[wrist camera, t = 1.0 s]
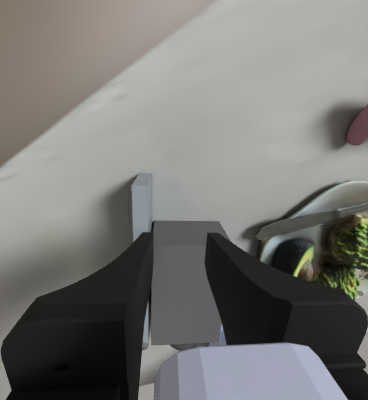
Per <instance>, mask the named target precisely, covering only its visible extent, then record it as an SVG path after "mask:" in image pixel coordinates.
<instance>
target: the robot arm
mask: <svg viewBox="0 0 368 400" xmlns="http://www.w3.org/2000/svg"><path fill="white" fill-rule="evenodd" d="M153 254H154V232H142V233H141V234H140V235H139V237H138V238H137V239H136V240H135V241H134V242H133V243H132V244H131V245H130V246H129V247H128V248H127V249H126V250H125V251H124V252H123V253H122V254H121V255H120V256H119V257H117V258H116V259H115V260H114V261H112V262H111V263H109V264H108V265H107V266H105V267H104V268H102V269H100V270H99V271H97V272H95V273H93V274H92V275H90V276H88V277H86V278H84V279H82V280H80V281H78V282H76V283H74V284H71V285H69V286H67V287H64V288H62V289H59V290H57V291H54V292H51V293H49V294H46V295H43V296H40V297H37V298H36V300H35V301H34V302H33V303H32V304H31V305H30V307H29V308H28V309H27V310H26V312H25V313H24V314H23V316H22V317H21V318H20V319H19V321H18V322H17V323H16V325H15V326H14V327H13V329H12V330H11V331H10V333H9V334H8V335H7V337H6V338H5V339H4V340H3V344H2V347H1V356H2V361H3V364H4V367H5V370H6V374H7V377H8V380H9V383H10V386H11V389H12V391H11V392H10V394H9V396H8V397H7V399H6V400H138V390H139V379H140V367H141V355H142V344H143V333H144V323H145V316H146V310H147V305H148V300H149V294H150V289H151V283H152V277H153ZM204 263H205V269H206V274H207V279H208V282H209V285H210V288H211V291H212V294H213V297H214V300H215V303H216V306H217V309H218V312H219V315H220V319H221V322H222V325H221V332H220V339H219V342H212V343H209V346H201V347H195V348H190V349H186V350H182V351H179V352H177V353H176V354H175V355H173V356H172V357H170V358H169V359H168V360H166V361H165V362H164V363H163V364H162V365H161V366H160V368H159V371H158V373H157V376H156V378H155V387H154V400H368V374H367V373H366V372H365V371H364V370H363V368H365V367H366V363H365V361H364V360H363V359H362V358H361V357H360V356H359V355H358V353H357V351H358V349H359V347H360V344H361V342H362V340H363V338H364V336H365V334H366V330H367V327H368V317H367V314H366V312H365V310H364V309H363V308H362V307H361V306H360V305H359V304H358V303H356V302H355V301H354V300H353V299H352V298H351V297H350V296H349V295H348V294H347V293H346V292H344V291H343V290H339V289H335V288H331V287H328V286H324V285H320V284H316V283H313V282H310V281H307V280H304V279H301V278H298V277H295V276H293V275H290V274H287V273H285V272H283V271H280V270H278V269H276V268H273V267H271V266H269V265H267V264H265V263H263V262H261V261H260V260H258V259H256V258H254V257H253V256H251V255H249V254H248V253H246V252H245V251H243V250H242V249H240V248H239V247H237V246H236V245H234V244H233V243H232V242H230V241H229V240H228V239H226V238H225V237H224V236H222V235H221V234H219V233H207V241H206V251H205V261H204Z"/></svg>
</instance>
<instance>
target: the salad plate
mask: <svg viewBox="0 0 368 400" xmlns="http://www.w3.org/2000/svg"><path fill="white" fill-rule="evenodd" d="M322 223H325V224H324V225H321V224H322ZM254 237H255V238H256V239H258V240H261V245H260V249H259V254H258V260H260V261H261V262H263V263H265V264H267V265H269V266H271V267H273V268H276V269H278V270H280V271H283V272H285V273H287V274H290V275H293V276H295V277H298V278H301V279H304V280H307V281H310V282H313V283H316V284H320V285H324V286H328V287H331V288H335V289H339V290H343V291H344V292H346V293H347V294H348V295H349V296H350V297H351V298H352V299H353V300H354V301H356V300H357V299H359V298H360V297H362V296H364V295H365V294H366V293H368V182H366V181H346V182H343V183H340V184H338V185H336V186H334V187H332V188H330V189H328V190H326V191H324V192H323V193H321V194H320V195H319V196H317V197H316V198H314V199H313V200H312V201H311V202H309V203H308V204H306V205H305V206H304V207H302V208H301V209H300V210H298V211H297V212H296V213H294V214H293V215H291V216H290V217H288V218H286V219H283V220H279V221H276V222H274V223H271V224H269V225H267V226H264V227H262V228H261V229H260V230H259V232H258V233H257V234H256V235H255V236H254ZM322 262H325V263H323V264H320V263H322ZM355 268H357V269H361V272H360V273H359V274H357V275H356V276H355V270H356V269H355ZM354 276H355V277H354Z"/></svg>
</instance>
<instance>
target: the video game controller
mask: <svg viewBox="0 0 368 400" xmlns="http://www.w3.org/2000/svg"><path fill="white" fill-rule="evenodd" d="M346 140H347V141H348V143H349V144H351V145H359V144H362V143H364V142H366V141H368V105H367V106H366V107H365V108H364V109H363V110H362V111H361V112H360V114H359V115H358V116H357V118H356V119H355V120H354V122H353V123H352V125H351V126H350V128H349V130H348V133H347V138H346Z"/></svg>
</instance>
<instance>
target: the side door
mask: <svg viewBox="0 0 368 400" xmlns="http://www.w3.org/2000/svg"><path fill="white" fill-rule="evenodd" d="M129 217H130V224H133V242H134V241H135V240H136V239H137V238H138V237H139V235H140V234H141V233H142V232H152V174H147V173H139V175H138V176H137V178H136V180H135V181H134V182H133V184H132V185H131V187H130V189H129ZM150 318H151V289H150V294H149V300H148V305H147V310H146V316H145V323H144V333H143V344H142V350H145V349H147V348H148V343H149V330H150Z"/></svg>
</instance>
